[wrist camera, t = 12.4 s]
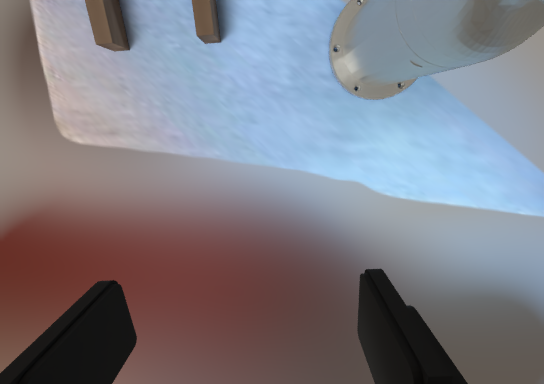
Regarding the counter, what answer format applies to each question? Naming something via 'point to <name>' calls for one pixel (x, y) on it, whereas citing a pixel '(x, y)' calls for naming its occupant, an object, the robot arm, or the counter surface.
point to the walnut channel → (112, 31)
